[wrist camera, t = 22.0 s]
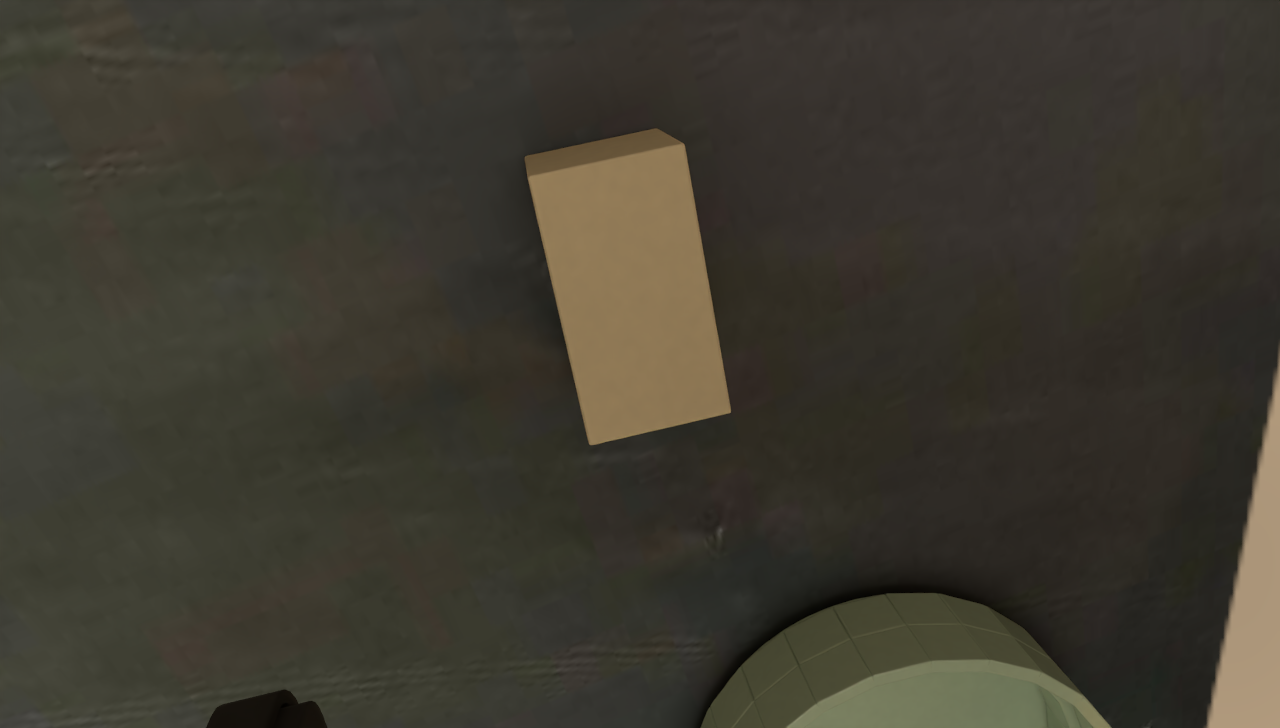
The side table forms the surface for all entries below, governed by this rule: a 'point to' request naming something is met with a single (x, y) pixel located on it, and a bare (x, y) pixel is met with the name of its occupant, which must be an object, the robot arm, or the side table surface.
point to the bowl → (902, 672)
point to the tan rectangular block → (630, 283)
